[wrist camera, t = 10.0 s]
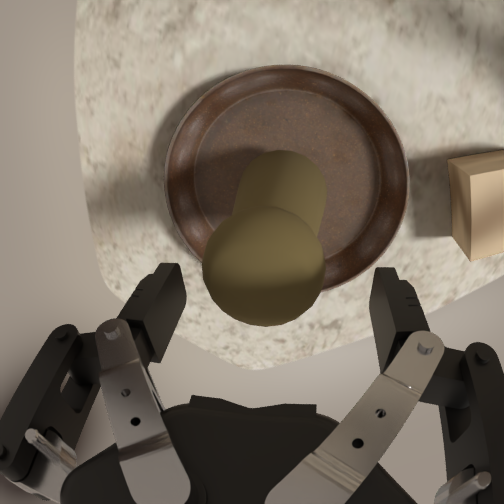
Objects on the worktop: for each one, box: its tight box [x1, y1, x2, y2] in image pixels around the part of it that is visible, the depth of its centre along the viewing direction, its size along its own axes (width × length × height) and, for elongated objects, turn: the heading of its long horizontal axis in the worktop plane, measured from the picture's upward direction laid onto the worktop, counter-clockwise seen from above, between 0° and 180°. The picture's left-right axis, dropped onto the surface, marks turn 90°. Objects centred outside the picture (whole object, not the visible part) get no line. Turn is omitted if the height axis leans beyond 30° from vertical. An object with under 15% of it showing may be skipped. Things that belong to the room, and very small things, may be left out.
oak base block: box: [447, 150, 504, 261], centre depth 19 cm, size 7×7×4 cm
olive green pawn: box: [202, 150, 327, 327], centre depth 17 cm, size 6×6×11 cm
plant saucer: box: [164, 65, 409, 293], centre depth 23 cm, size 18×18×3 cm
